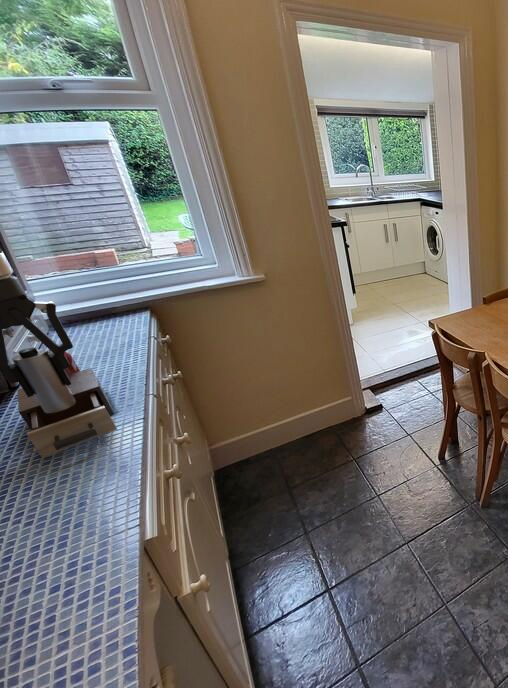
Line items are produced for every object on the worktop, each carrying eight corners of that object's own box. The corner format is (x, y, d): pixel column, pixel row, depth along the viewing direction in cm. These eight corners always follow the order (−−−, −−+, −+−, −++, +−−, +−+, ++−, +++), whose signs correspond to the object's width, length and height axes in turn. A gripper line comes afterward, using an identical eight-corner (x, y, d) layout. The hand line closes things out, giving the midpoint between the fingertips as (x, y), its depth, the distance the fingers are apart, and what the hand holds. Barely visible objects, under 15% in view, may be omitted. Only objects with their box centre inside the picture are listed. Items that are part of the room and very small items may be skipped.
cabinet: (114, 413, 97) (99, 386, 94) (38, 441, 88) (18, 412, 85) (105, 393, 106) (91, 367, 103) (35, 417, 97) (17, 389, 94)
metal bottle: (37, 414, 84) (1, 356, 79) (59, 401, 88) (26, 345, 83) (62, 412, 84) (27, 354, 79) (82, 399, 89) (51, 343, 83)
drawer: (121, 438, 86) (108, 415, 84) (44, 469, 78) (27, 445, 76) (107, 408, 97) (96, 387, 95) (39, 432, 90) (24, 410, 87)
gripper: (-100, 296, 67) (-17, 415, 76) (55, 271, 79) (109, 376, 88) (-93, 288, 71) (-16, 401, 81) (52, 265, 83) (104, 366, 93)
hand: (49, 388), depth 85 cm, fingers closed on metal bottle, 5 cm apart
